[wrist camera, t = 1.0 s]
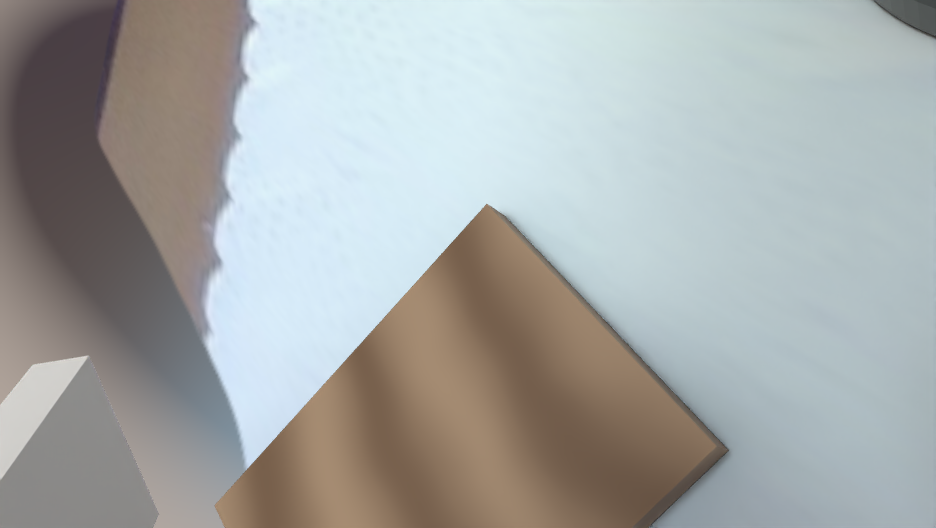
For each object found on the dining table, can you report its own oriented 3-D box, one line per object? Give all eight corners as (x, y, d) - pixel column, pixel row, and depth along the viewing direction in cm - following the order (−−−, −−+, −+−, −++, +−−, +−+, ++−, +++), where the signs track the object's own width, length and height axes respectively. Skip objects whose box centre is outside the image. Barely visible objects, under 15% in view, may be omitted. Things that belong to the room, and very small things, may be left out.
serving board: (504, 215, 34) (486, 203, 33) (728, 450, 27) (716, 446, 26) (239, 506, 38) (214, 505, 36) (378, 785, 30) (352, 796, 29)
